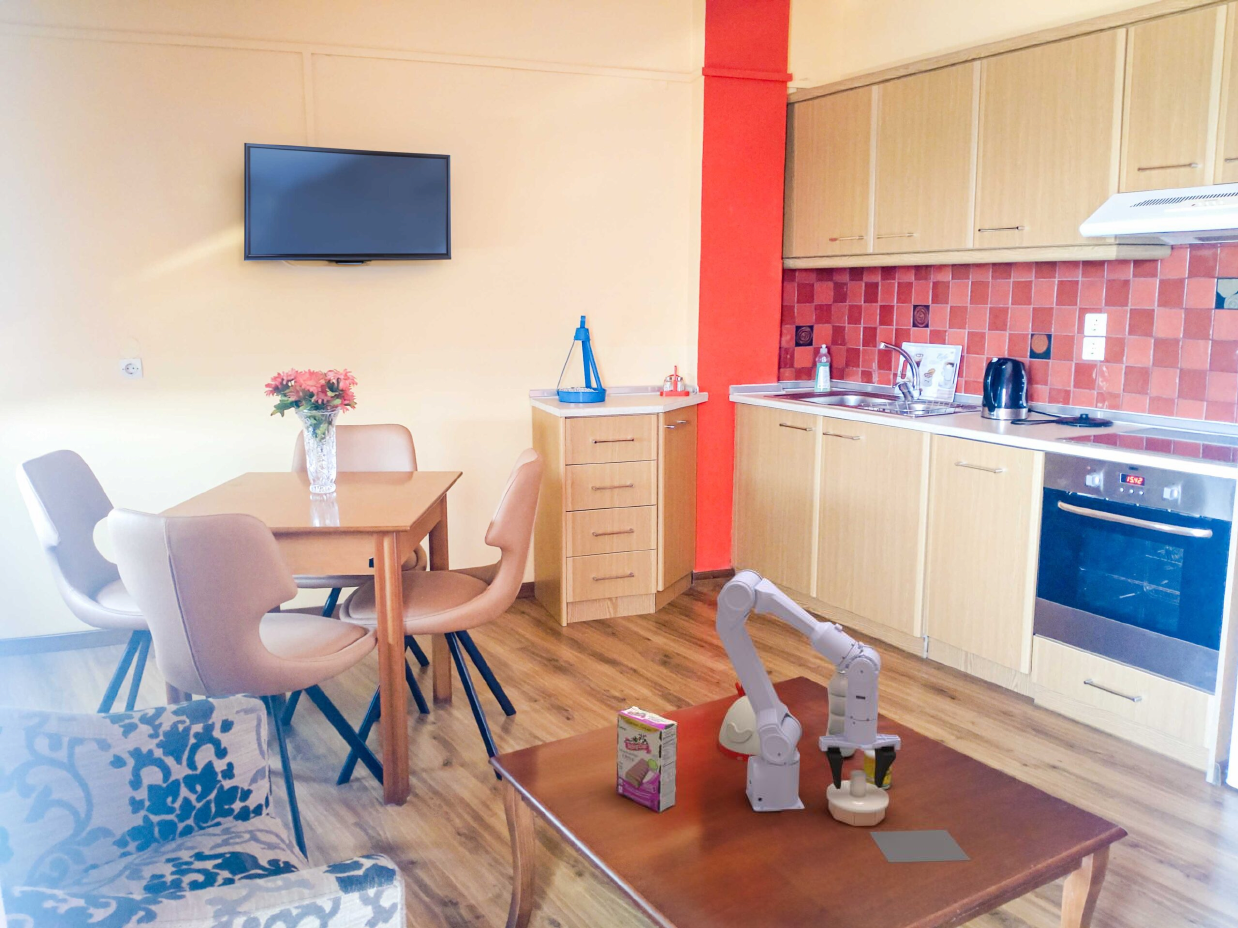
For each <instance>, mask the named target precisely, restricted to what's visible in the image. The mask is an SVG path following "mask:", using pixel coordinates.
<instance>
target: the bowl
mask: <svg viewBox="0 0 1238 928" xmlns="http://www.w3.org/2000/svg"><path fill="white" fill-rule="evenodd" d="M828 811H829V812H830V814H831V815H832V817H833V818H834V819H835V820H837V821H840V822H843V823H845V824H848V825H850V826H854V827H858V826H859V827H860V826H862V827H863V826H864V827H865V826H876V825H877V824H878V823H880V822H882V820H883V819H885V817H886V816H885V815H886V814H885V812H886V808H885V809H883V810H881V811H878V812H873V813H858V812H852V811H848V810H844V809H842V808H839V807H837V806H835V805H834V804H832V803H831V802H830V801H829V800H828Z"/></svg>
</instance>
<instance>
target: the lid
mask: <svg viewBox="0 0 1238 928" xmlns="http://www.w3.org/2000/svg"><path fill="white" fill-rule="evenodd" d="M866 777H867V774H866V772H864V771H863V770H861V769H853V770H851V771H850V780H841V789H836V787H835V786H834V783H833V782H832V783H831V784H830V785H829V786H828V787H827V788H826V798H827V800H828V802H829V801H830V802H831V803H832V804H834V805H835V806H837V807H839V808H842V809H844V810H848V811H852V812H858V813H873V812H878V811H881V810H883V809H885V810H886V808H887V807H889V803H890V798H889V797H890V796H889V794H888V793H887V791H886V790H883V789H881V788H878V787H877V786H876V785H873V784H870V783H867V782H866Z"/></svg>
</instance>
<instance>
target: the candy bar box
mask: <svg viewBox="0 0 1238 928" xmlns="http://www.w3.org/2000/svg"><path fill="white" fill-rule="evenodd" d="M616 735H617V745H616V750H617V751H616V794H618V795H620V796H622V797H624V798H627V799H629V800H631V801H633V802H635V803H638V804H640V805H642V806H643V807H644V806H645V807H646V808H648V809H651V810H653V811H655V812H657V813H663V812H664V811H666V810H668V809H669V808H672V807H673V806H675V805H676V793H677V791H676V790H677V786H676V785H677V754H678V753H677V751H678V750H677V747H678V722H676V721H674V720H671V719H669V718H666V717H663V716H661V715H658V714H656V713H653V712H650V711H649V710H648V711H647V710H645V709H642V708H641V707H637V706H635V705H633V706H631V707H628V708H625V709H623V710H620V711H618V712H617V734H616Z"/></svg>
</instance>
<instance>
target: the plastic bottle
mask: <svg viewBox="0 0 1238 928" xmlns="http://www.w3.org/2000/svg"><path fill="white" fill-rule="evenodd" d="M834 672H835V673H834V674H833V675H832V676H831V678H830V679H829V680H828V683H827V689H826V690H827V696H828V697H827V698H828V719H827V720H828V721H827V727H826V732H825V736H831V735H836V734H841V733H844V724H845V705H846V689H847V687H848V679H847V678H846V675H845V670H843V669H840V668H839V667H838V666H836V665H835V664H834ZM840 751H841V755H842V756H843V758H846V757H850V756H851V757H852V755H853V754H854V753H855V751H856V749H840Z"/></svg>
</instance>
